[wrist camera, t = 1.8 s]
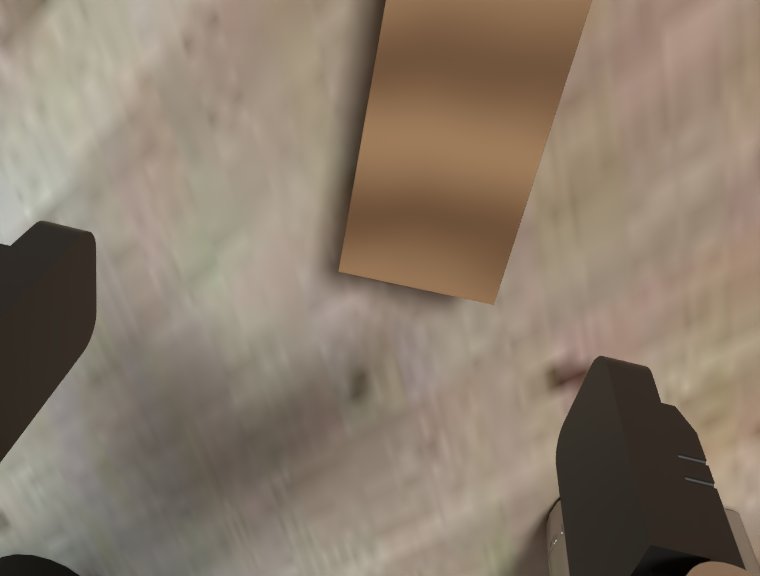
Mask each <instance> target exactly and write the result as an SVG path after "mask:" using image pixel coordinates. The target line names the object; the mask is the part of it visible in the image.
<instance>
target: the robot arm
mask: <svg viewBox="0 0 760 576" xmlns="http://www.w3.org/2000/svg"><path fill="white" fill-rule="evenodd" d="M95 321H96V242H95V238H94V236H93V234H92V233H91V232H88V231H84V230H80V229H76V228H72V227H67V226H63V225H59V224H55V223H51V222H47V221H39V222H37V223H36V224H34V225H33V226H32V227H31V228H30V229H29V230H28V231H26V232H25V233H24V234H23V235H22V236H21V237H20V238H19V239H18V240H16V241H15V242H14V243H13V244H12V245H11V246H8V245H4V244H0V462H1V461H2V460H3V458H4V457H5V456H6V454H7V453H8V452H9V450H10V449H11V448H12V446H13V445H14V444H15V442H16V441H17V440H18V438H19V437H20V436H21V434H22V433H23V432H24V430H25V429H26V428H27V426H28V425H29V424H30V422H31V421H32V420H33V418H34V417H35V416H36V414H37V413H38V412H39V410H40V409H41V408H42V406H43V405H44V404H45V402H46V401H47V400H48V398H49V397H50V396H51V394H52V393H53V392H54V390H55V389H56V388H57V386H58V385H59V384H60V382H61V381H62V380H63V378H64V377H65V376H66V374H67V373H68V372H69V370H70V369H71V368H72V366H73V365H74V364H75V362H76V361H77V360H78V358H79V357H80V356H81V354H82V353H83V352H84V350H85V349H86V347H87V345H88V343H89V341H90V338H91V336H92V333H93V330H94V326H95ZM556 468H557V477H558V485H559V493H560V500H559V501H558V502H557V504H556V505H555V507H554V508H553V510H552V511H551V513H550V515H549V518H548V522H547V525H546V538H547V548H548V555H547V558H548V568H549V573H550V576H760V567H759V564H758V562H757V559H756V556H755V554H754V551H753V548H752V546H751V543H750V541H749V538H748V535H747V533H746V530H745V527H744V525H743V522H742V520H741V517H740V514H739V513H738V512H735V511H731V510H726V509H724V507H723V505H722V502H721V499H720V496H719V494H718V491H717V489H716V488H714V483H715V482H714V480H713V477H712V474H711V471H710V469H709V466H707V465H706V458H705V455H704V452H703V449H702V446H701V444H700V441H699V438H698V435H697V433H696V432H695V430H694V429H693V428H692V427H691V425H690V424H689V423H688V422H687V420H686V419H685V418H684V417H683V415H682V414H681V413H680V412H679V411H678V409H677V408H676V407H675V406H672V405H668V404H664V403H661V400H660V397H659V394H658V391H657V388H656V385H655V382H654V378H653V375H652V373H651V370H650V369H649V368H648V367H646V366H642V365H638V364H634V363H629V362H625V361H621V360H617V359H613V358H609V357H604V356H599V357H597V358H596V359H595V360H594V362H593V363H592V365H591V367H590V369H589V371H588V373H587V375H586V377H585V379H584V381H583V384H582V386H581V388H580V390H579V392H578V394H577V396H576V398H575V400H574V402H573V404H572V407H571V409H570V411H569V413H568V415H567V417H566V419H565V421H564V423H563V426H562V428H561V431H560V434H559V438H558V443H557V450H556Z"/></svg>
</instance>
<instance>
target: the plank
mask: <svg viewBox="0 0 760 576" xmlns="http://www.w3.org/2000/svg"><path fill="white" fill-rule="evenodd" d="M591 2H592V0H386V2H385V8H384V14H383V20H382V25H381V31H380V37H379V42H378V48H377V54H376V60H375V65H374V71H373V77H372V82H371V88H370V94H369V100H368V105H367V111H366V117H365V122H364V128H363V134H362V139H361V145H360V151H359V157H358V162H357V168H356V174H355V179H354V185H353V191H352V197H351V202H350V208H349V214H348V219H347V225H346V231H345V237H344V242H343V248H342V254H341V259H340V265H339V271H338V272H343V273H348V274H352V275H357V276H362V277H366V278H371V279H376V280H380V281H385V282H390V283H394V284H399V285H404V286H408V287H413V288H417V289H422V290H427V291H431V292H436V293H441V294H445V295H450V296H455V297H459V298H464V299H469V300H473V301H478V302H483V303H487V304H492V305H494V303H495V300H496V297H497V293H498V290H499V287H500V284H501V281H502V278H503V275H504V272H505V269H506V266H507V263H508V259H509V256H510V253H511V250H512V247H513V244H514V241H515V238H516V235H517V232H518V228H519V225H520V222H521V219H522V216H523V213H524V210H525V207H526V204H527V201H528V197H529V194H530V191H531V188H532V185H533V182H534V179H535V176H536V173H537V170H538V166H539V163H540V160H541V157H542V154H543V151H544V148H545V145H546V142H547V139H548V136H549V132H550V129H551V126H552V123H553V120H554V117H555V114H556V111H557V108H558V105H559V101H560V98H561V95H562V92H563V89H564V86H565V83H566V80H567V77H568V74H569V70H570V67H571V64H572V61H573V58H574V55H575V52H576V49H577V46H578V43H579V40H580V36H581V33H582V30H583V27H584V24H585V21H586V18H587V15H588V12H589V9H590V5H591Z"/></svg>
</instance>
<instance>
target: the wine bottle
mask: <svg viewBox="0 0 760 576" xmlns="http://www.w3.org/2000/svg"><path fill="white" fill-rule="evenodd" d="M0 576H78V575H77V574H75V573H74V572H73V571H71V570H70V569H68V568H67V567H65V566H62V565H60V564H58V563H56V562H53V561H51V560H48V559H44V558H40V557H36V556H32V555H11V556H6V557H1V558H0Z"/></svg>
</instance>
